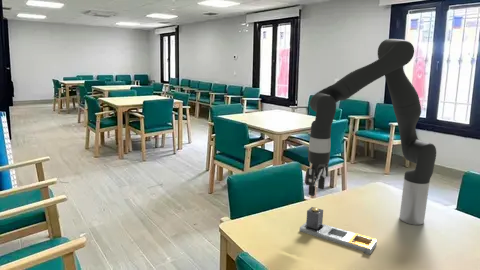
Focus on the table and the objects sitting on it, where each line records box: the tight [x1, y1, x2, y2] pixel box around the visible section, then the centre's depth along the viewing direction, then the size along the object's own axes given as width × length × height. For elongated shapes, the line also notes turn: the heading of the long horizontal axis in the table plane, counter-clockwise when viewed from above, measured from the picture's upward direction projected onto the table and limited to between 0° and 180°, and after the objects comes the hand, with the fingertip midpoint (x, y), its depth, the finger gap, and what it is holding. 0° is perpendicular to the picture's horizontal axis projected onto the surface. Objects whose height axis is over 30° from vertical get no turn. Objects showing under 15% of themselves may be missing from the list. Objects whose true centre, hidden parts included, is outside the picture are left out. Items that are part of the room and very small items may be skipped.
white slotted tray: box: [299, 222, 378, 256], centre depth 132 cm, size 8×26×2 cm, turn 55°
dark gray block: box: [305, 206, 324, 231], centre depth 136 cm, size 4×4×9 cm
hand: (316, 191), depth 134 cm, fingers open, 8 cm apart
